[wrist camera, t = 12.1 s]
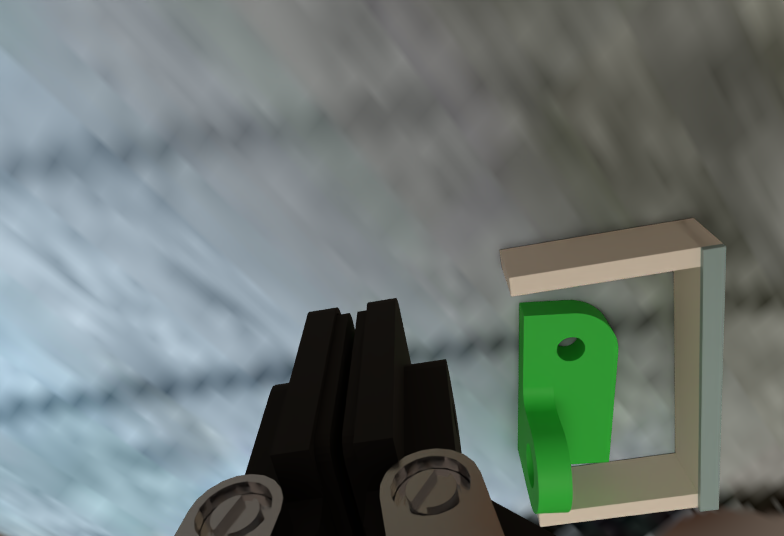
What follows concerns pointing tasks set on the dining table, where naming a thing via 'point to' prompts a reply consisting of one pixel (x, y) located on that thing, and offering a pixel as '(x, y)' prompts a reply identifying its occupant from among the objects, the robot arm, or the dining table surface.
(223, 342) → the dining table surface
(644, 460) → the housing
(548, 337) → the mechanical part
